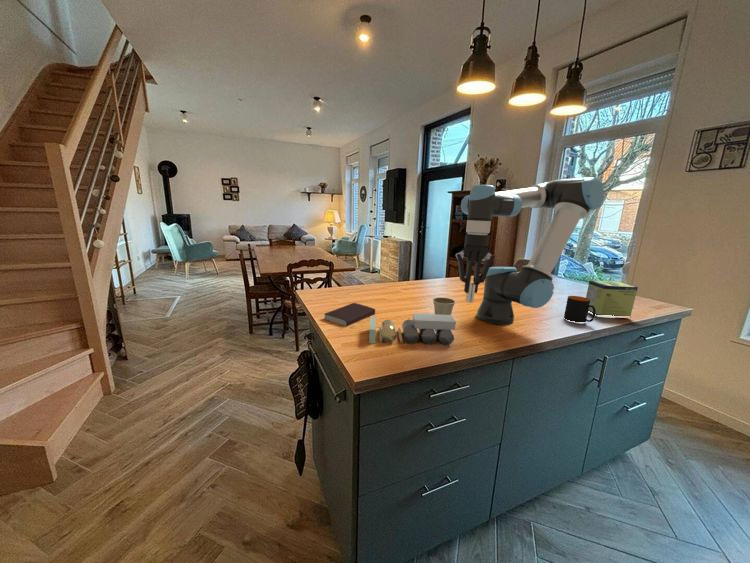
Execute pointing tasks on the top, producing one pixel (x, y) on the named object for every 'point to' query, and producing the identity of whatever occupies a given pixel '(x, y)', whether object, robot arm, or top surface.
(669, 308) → the top surface
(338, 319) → the book
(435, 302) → the flower pot
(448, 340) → the roller track
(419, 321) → the slab
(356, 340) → the top surface
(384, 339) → the roller
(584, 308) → the mug
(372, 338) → the stop fence
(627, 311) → the protein box
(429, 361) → the top surface
